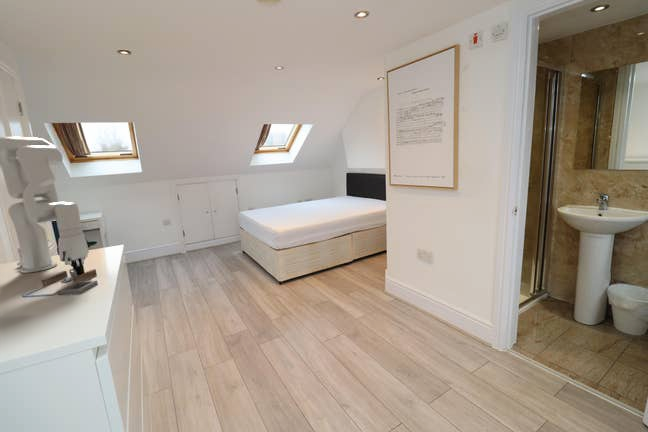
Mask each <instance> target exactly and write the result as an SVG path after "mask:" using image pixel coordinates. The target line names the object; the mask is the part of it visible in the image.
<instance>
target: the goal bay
mask: <svg viewBox="0 0 648 432" xmlns="http://www.w3.org/2000/svg"><path fill="white" fill-rule="evenodd" d="M44 288H46V286H43V285H42V286H40V287H38V288H36V289H33V290H31V291H29V292H26V293H24V294H21V296H22V298H28V297H31V298H32V297H51V296H55V295H57V291H55V292H53V293H45V294H44V293H43V294H42V293H41V294H33V293H35V292H37V291H39V290H41V289H44Z"/></svg>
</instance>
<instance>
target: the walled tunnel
mask: <svg viewBox="0 0 648 432" xmlns="http://www.w3.org/2000/svg"><path fill="white" fill-rule="evenodd" d="M95 276H97V270H96V268H95V269H94V268H93V269H92V268H91V269H90V270H87V271H86V272H85V273H84V274H81V275H79V276H77V277H75V278H73V283H75V282H77V281H88V280H89V279H91V278H93V277H95ZM66 277H67V278H68V272H67V270H61V271H60V272H57V273H55V274H52V275H49V276H47V277H45V278H41V283H42V286H45V287H46V286H49V285H51V284H53V283H56V282H58V281H60V280H63V279H66Z"/></svg>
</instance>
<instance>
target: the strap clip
mask: <svg viewBox="0 0 648 432" xmlns="http://www.w3.org/2000/svg"><path fill="white" fill-rule="evenodd" d="M69 275H70V276H69V277H67V278H66V277H65V278H63V279H61V283H63V282H64V283H65V284H66V283H70V282H72V280H73V278H75V277H77V276H79V275H77V273H76V271H75V270H74V269H73V268H72V269H71V268H70V269H69ZM73 281H74V280H73Z"/></svg>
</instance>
